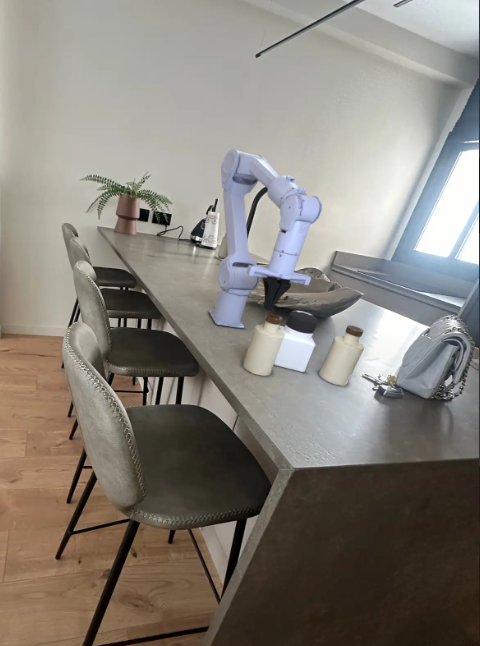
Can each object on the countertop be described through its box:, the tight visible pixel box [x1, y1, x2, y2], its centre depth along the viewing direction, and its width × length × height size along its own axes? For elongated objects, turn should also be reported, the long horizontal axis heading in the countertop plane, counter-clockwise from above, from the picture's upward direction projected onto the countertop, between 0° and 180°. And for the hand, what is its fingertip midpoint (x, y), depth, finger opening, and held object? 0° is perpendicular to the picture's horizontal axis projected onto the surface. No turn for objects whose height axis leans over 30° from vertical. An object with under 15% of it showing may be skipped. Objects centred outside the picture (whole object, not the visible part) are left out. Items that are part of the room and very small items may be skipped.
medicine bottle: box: [273, 310, 319, 373], centre depth 83 cm, size 7×7×12 cm
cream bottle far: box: [318, 324, 365, 386], centre depth 80 cm, size 6×6×12 cm
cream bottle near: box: [242, 312, 284, 377], centre depth 77 cm, size 6×6×12 cm
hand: (267, 308), depth 88 cm, fingers closed
